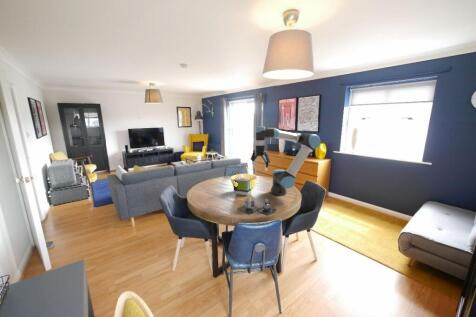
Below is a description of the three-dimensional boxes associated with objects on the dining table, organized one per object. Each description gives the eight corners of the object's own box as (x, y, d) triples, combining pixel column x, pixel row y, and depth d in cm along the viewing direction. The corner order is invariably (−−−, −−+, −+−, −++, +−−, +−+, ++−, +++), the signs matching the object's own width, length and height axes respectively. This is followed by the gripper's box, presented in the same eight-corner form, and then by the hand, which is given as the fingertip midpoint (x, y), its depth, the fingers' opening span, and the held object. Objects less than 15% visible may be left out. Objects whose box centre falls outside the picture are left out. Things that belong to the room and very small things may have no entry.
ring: (244, 202, 165) (244, 197, 164) (254, 202, 164) (254, 197, 163) (244, 207, 157) (244, 201, 156) (254, 207, 156) (254, 201, 155)
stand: (265, 205, 167) (265, 194, 165) (277, 210, 158) (277, 199, 156) (255, 210, 159) (255, 198, 157) (267, 215, 150) (267, 203, 148)
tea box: (251, 192, 197) (251, 178, 194) (247, 196, 188) (247, 181, 185) (237, 190, 203) (237, 176, 200) (233, 193, 194) (233, 179, 191)
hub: (249, 203, 171) (249, 193, 169) (261, 209, 161) (261, 197, 159) (237, 208, 162) (237, 197, 160) (249, 214, 152) (249, 203, 150)
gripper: (246, 144, 173) (246, 167, 178) (269, 147, 155) (268, 173, 160) (252, 143, 178) (252, 166, 183) (275, 146, 160) (274, 171, 164)
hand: (259, 169), depth 171 cm, fingers open, 13 cm apart
